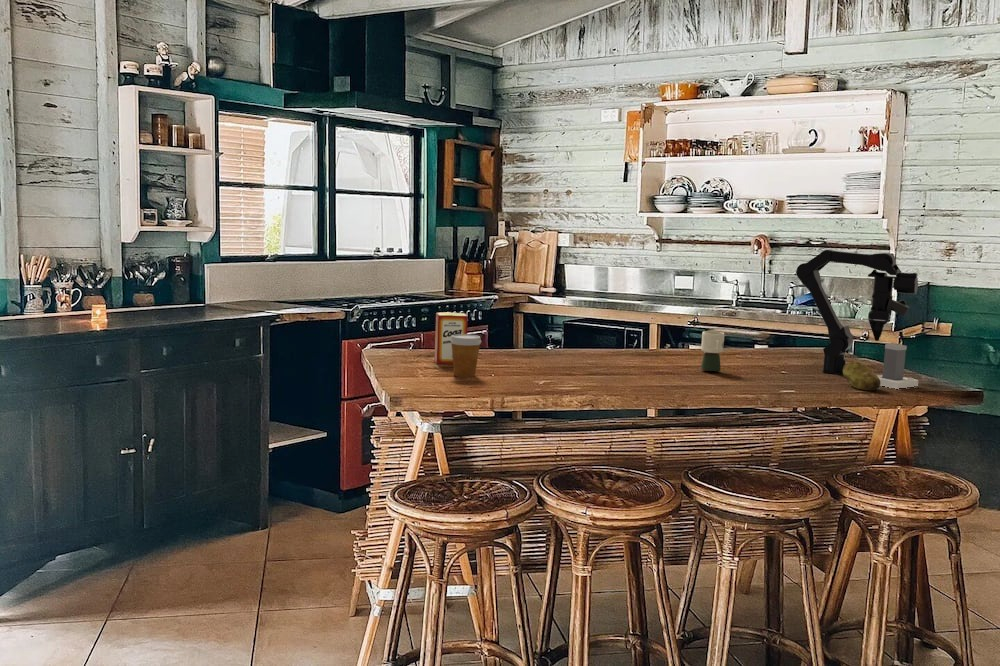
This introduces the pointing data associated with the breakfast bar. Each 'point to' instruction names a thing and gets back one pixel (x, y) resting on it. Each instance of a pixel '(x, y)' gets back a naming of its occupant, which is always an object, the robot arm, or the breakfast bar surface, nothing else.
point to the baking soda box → (448, 334)
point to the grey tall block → (894, 361)
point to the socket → (898, 382)
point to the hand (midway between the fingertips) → (877, 339)
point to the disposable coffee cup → (465, 354)
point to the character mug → (712, 350)
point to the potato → (861, 376)
